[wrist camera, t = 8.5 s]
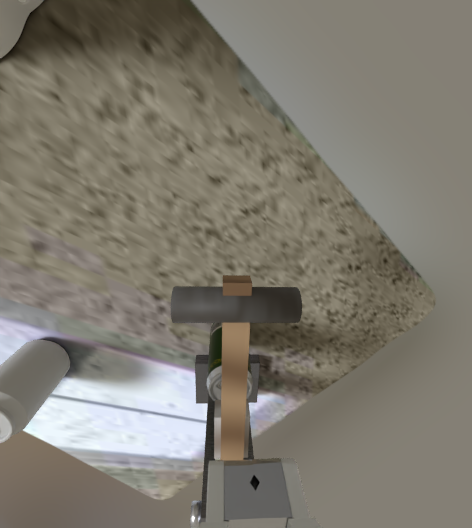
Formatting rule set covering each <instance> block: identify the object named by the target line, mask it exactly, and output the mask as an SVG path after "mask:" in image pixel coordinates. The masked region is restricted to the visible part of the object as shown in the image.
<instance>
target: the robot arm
mask: <svg viewBox="0 0 472 528" xmlns="http://www.w3.org/2000/svg"><path fill="white" fill-rule="evenodd" d="M43 1H44V0H0V58H2V57H3V56H5V55H6V54H7V53H8V52H9V51H10V50H11V49H12V48H13V47H14V45H15V44H16V42H17V41H18V39H19V37H20V35H21V33H22V30H23V27H24V25H25V22H26V20H27V17H28V16H29V14H30V12H32V11H33V10H34V9H35V8H37V7H38V6H39V5H40V4H41V3H42V2H43ZM198 528H323V527H322V526H321V525H320V523H319V522H318V521H317V520H316V518H311V517H310V514H309V510H308V506H307V502H306V498H305V494H304V490H303V486H302V482H301V478H300V474H299V470H298V466H297V462H296V461H295V459H294V458H272V459H253V460H225V461H224V460H216V461H209V466H208V484H207V504H206V522H201V523H200V525H199V527H198Z"/></svg>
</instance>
